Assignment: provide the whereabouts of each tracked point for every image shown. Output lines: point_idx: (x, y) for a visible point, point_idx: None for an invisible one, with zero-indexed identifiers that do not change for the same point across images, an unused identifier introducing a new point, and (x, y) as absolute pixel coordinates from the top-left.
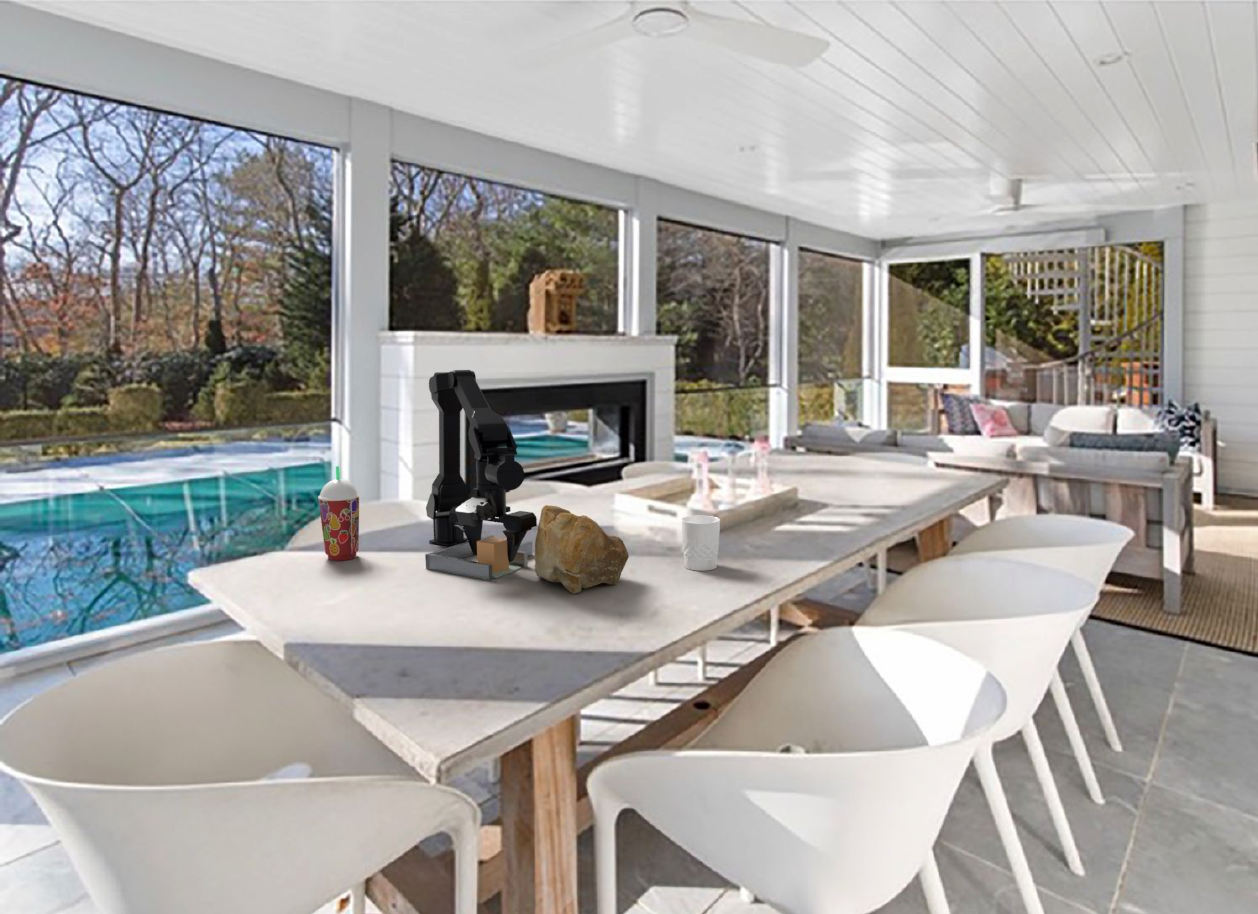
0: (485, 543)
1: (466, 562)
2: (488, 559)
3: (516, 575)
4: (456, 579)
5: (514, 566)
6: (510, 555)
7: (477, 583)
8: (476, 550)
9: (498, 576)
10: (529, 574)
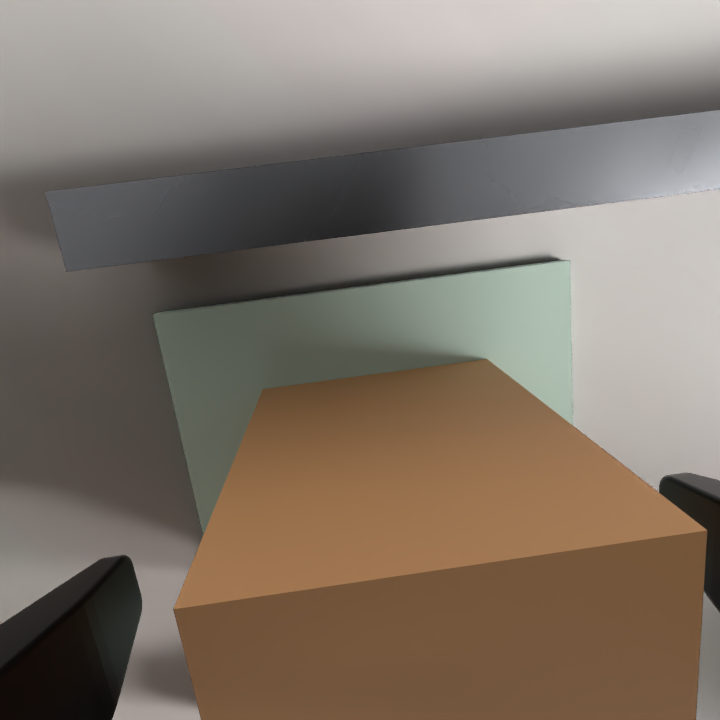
0: (432, 557)
1: (490, 138)
2: (343, 428)
3: (93, 498)
4: (457, 17)
5: None
6: (20, 612)
7: (152, 56)
8: (707, 535)
9: (163, 354)
10: (32, 586)
